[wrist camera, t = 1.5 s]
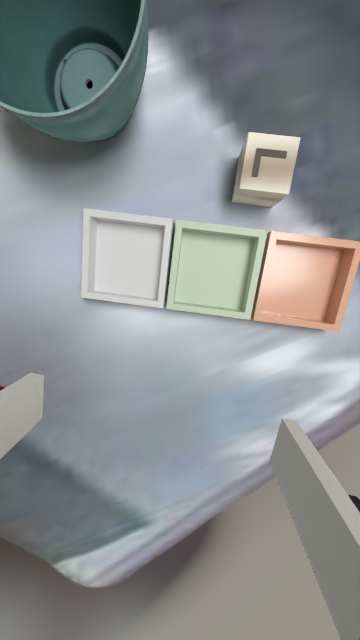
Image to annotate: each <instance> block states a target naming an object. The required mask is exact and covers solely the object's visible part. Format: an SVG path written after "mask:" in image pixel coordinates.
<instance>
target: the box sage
mask: <svg viewBox="0 0 360 640" xmlns="http://www.w3.org/2000/svg"><path fill="white" fill-rule="evenodd" d="M267 232H268V230H259V229H251V228H243V227H235V226H226V225H218V224H210V223H202V222H193V221H185V220H177V219H176V226H175V235H174V244H173V253H172V262H171V271H170V280H169V289H168V297H167V306H166V309H171V310H179V311H187V312H194V313H202V314H209V315H217V316H224V317H232V318H239V319H247V320H250V318H251V313H252V308H253V303H254V298H255V293H256V288H257V282H258V277H259V272H260V267H261V262H262V257H263V252H264V247H265V242H266V237H267Z"/></svg>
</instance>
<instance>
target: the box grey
mask: <svg viewBox="0 0 360 640" xmlns="http://www.w3.org/2000/svg"><path fill="white" fill-rule="evenodd" d="M174 224H175V223H174V221H173V219H169V218H161V217H152V216H144V215H136V214H128V213H119V212H111V211H103V210H95V209H86V208H84V209H83V244H82V279H81V298H89V299H96V300H104V301H111V302H119V303H126V304H134V305H141V306H149V307H156V308H164V307H165V305H166V296H167V287H168V278H169V269H170V260H171V251H172V242H173V233H174Z"/></svg>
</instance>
